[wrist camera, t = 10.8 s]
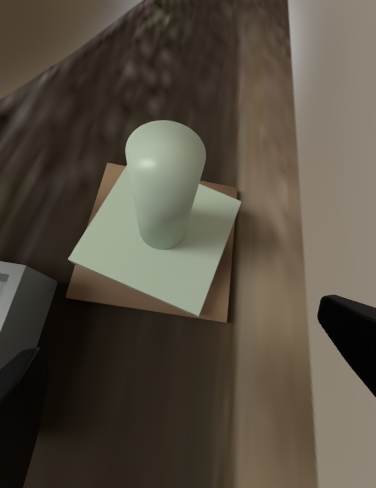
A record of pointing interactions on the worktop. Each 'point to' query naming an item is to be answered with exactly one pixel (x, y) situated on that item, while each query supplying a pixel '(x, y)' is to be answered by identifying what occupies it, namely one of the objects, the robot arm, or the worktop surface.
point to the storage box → (22, 308)
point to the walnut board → (113, 293)
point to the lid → (160, 220)
